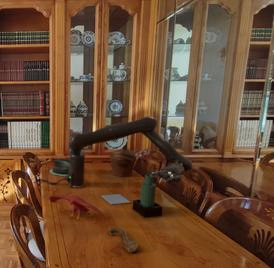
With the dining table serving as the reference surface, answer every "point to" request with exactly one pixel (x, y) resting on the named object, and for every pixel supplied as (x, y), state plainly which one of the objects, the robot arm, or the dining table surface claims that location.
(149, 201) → the bottle
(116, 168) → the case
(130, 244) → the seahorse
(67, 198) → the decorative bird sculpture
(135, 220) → the dining table surface
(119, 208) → the dining table surface
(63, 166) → the green hat
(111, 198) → the coaster
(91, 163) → the dining table surface
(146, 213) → the holder
